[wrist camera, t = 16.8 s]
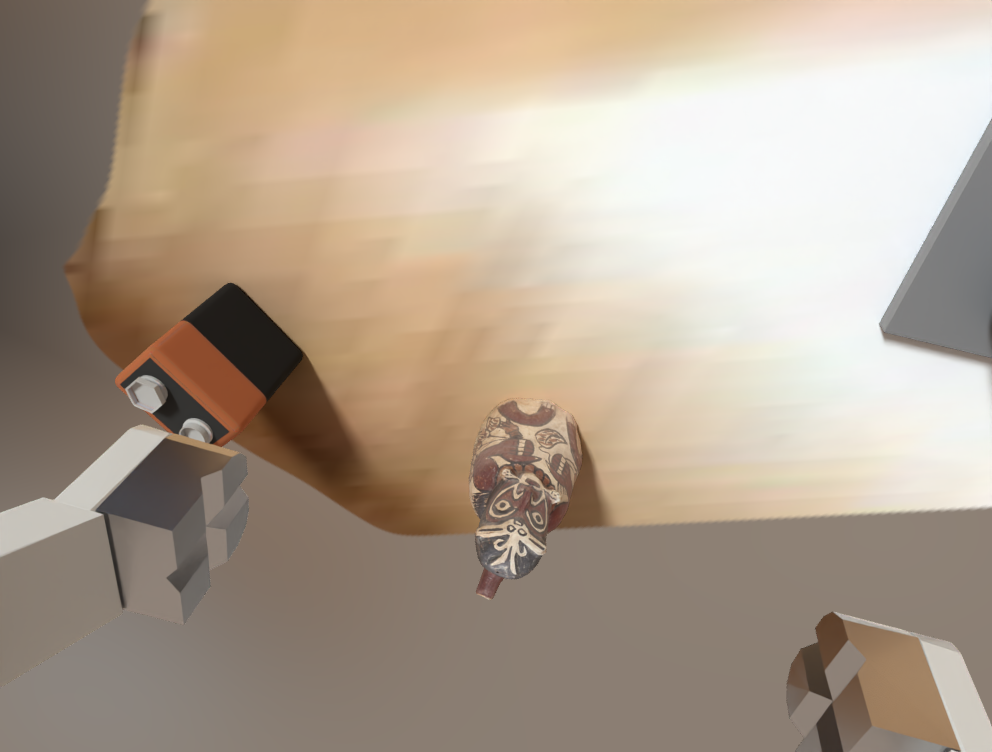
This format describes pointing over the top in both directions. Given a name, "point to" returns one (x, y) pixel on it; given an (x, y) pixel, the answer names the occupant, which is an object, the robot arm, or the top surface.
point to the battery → (211, 369)
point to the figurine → (520, 485)
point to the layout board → (953, 268)
